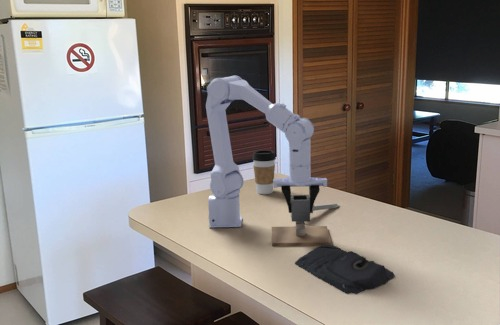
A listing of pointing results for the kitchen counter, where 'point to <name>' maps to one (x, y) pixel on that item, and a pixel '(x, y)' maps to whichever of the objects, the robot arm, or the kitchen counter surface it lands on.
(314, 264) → the dark slate chunk
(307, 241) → the post base
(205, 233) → the kitchen counter surface
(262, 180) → the coffee cup
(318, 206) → the caliper
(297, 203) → the steel collar
